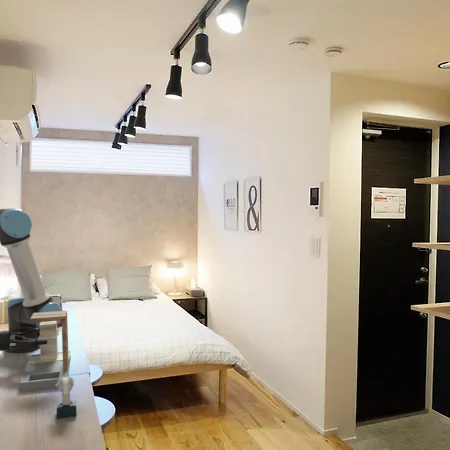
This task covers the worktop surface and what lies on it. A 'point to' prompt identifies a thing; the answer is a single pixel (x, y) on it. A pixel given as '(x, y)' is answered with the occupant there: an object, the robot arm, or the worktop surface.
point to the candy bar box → (58, 300)
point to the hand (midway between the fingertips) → (57, 336)
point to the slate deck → (43, 373)
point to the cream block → (47, 331)
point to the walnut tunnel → (58, 317)
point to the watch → (66, 398)
